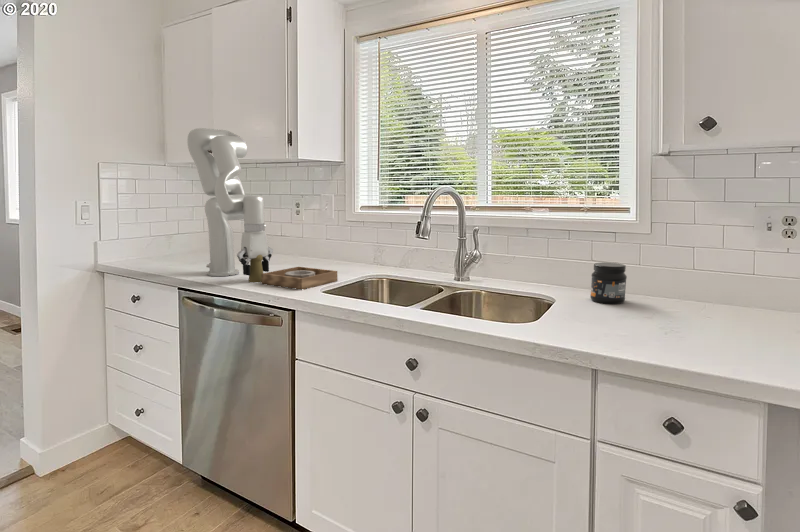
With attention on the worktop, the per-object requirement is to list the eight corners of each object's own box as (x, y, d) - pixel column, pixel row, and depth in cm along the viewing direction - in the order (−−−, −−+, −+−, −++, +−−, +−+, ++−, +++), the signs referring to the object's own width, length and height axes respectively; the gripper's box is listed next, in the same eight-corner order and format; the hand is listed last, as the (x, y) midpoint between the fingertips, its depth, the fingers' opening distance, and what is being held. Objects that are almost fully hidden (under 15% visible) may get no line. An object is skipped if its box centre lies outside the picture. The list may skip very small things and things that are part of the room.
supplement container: (590, 296, 175) (592, 261, 173) (624, 299, 171) (627, 263, 169) (589, 303, 165) (591, 265, 164) (625, 306, 162) (628, 267, 160)
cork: (255, 279, 204) (253, 251, 202) (267, 280, 202) (266, 252, 200) (245, 282, 199) (243, 253, 197) (258, 283, 196) (257, 254, 195)
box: (261, 284, 195) (261, 273, 194) (298, 276, 211) (298, 266, 211) (302, 290, 184) (301, 278, 184) (337, 281, 201) (337, 271, 200)
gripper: (264, 226, 206) (266, 269, 209) (229, 229, 192) (231, 275, 194) (278, 227, 202) (279, 270, 205) (243, 230, 188) (245, 277, 191)
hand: (256, 273), depth 200 cm, fingers open, 9 cm apart
